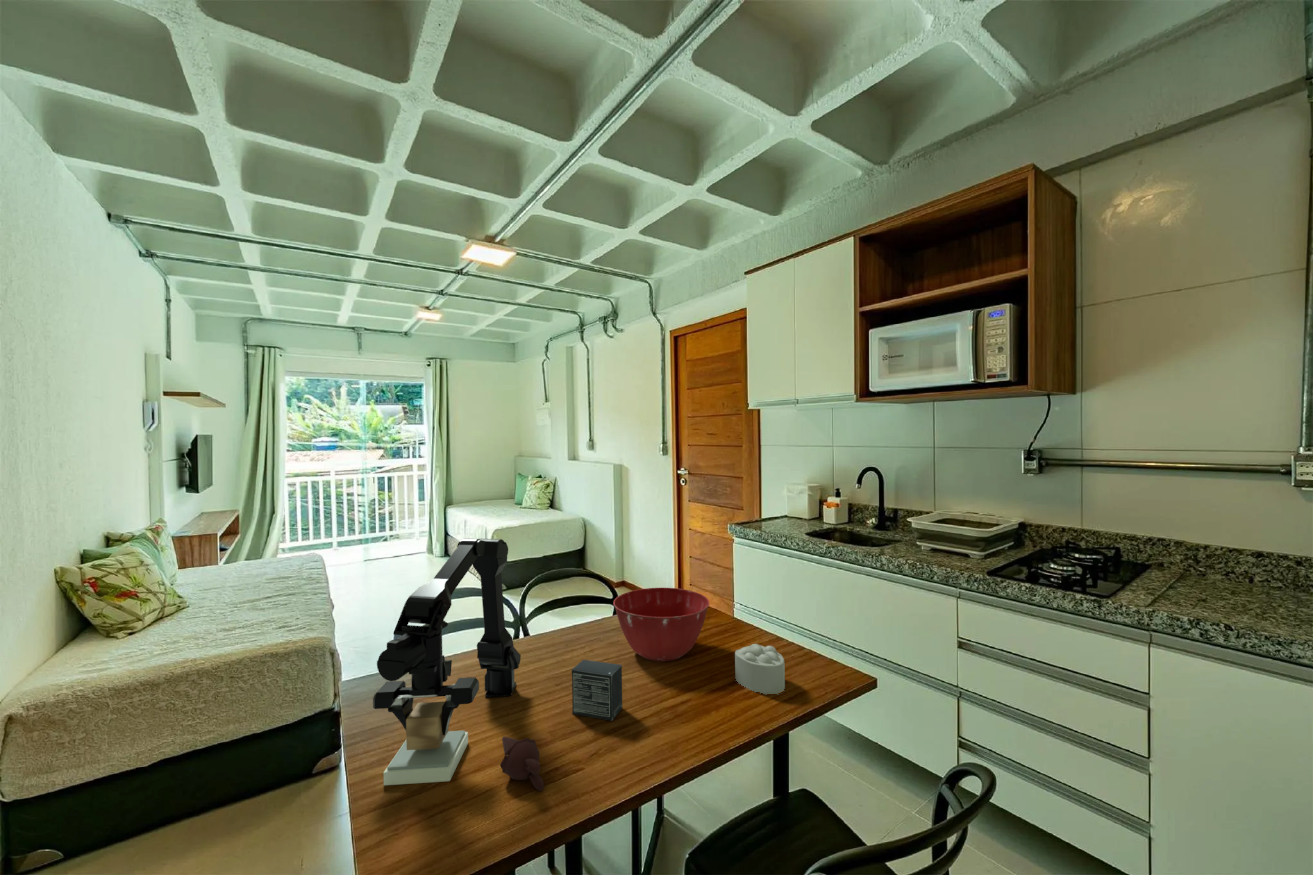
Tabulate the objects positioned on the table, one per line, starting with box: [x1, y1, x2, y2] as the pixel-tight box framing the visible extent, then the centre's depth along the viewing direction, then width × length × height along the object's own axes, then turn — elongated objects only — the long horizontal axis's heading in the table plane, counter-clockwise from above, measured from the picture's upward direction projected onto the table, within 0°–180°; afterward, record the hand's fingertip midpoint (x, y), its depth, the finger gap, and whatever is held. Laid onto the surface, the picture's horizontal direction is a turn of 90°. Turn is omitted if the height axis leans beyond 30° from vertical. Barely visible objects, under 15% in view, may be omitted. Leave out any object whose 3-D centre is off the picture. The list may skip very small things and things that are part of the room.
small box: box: [571, 659, 623, 722], centre depth 121 cm, size 11×6×10 cm, turn 71°
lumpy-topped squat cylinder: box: [734, 643, 786, 695], centre depth 133 cm, size 10×13×9 cm
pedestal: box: [383, 729, 469, 786], centre depth 102 cm, size 12×12×3 cm
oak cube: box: [405, 701, 450, 750], centre depth 102 cm, size 6×6×6 cm
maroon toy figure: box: [499, 736, 545, 792], centre depth 98 cm, size 7×7×15 cm
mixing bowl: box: [612, 587, 710, 662], centre depth 153 cm, size 28×28×16 cm
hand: (428, 734), depth 102 cm, fingers closed on oak cube, 6 cm apart
